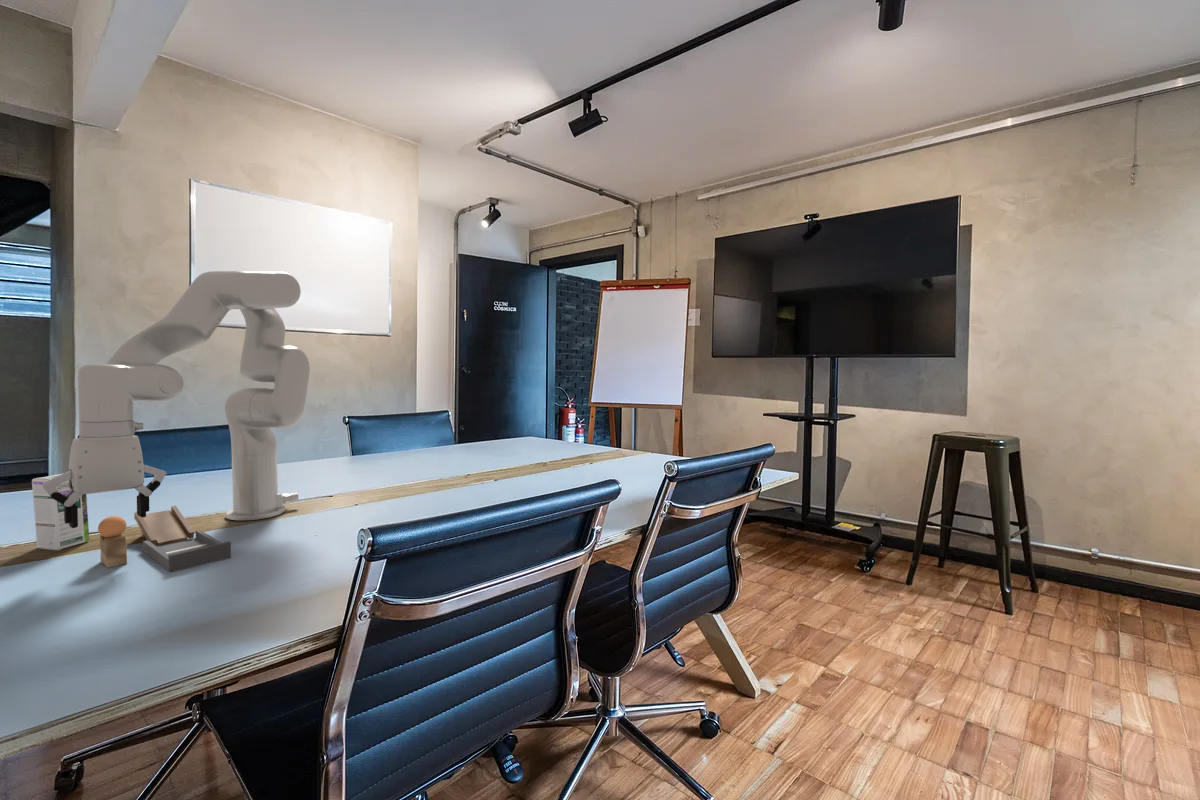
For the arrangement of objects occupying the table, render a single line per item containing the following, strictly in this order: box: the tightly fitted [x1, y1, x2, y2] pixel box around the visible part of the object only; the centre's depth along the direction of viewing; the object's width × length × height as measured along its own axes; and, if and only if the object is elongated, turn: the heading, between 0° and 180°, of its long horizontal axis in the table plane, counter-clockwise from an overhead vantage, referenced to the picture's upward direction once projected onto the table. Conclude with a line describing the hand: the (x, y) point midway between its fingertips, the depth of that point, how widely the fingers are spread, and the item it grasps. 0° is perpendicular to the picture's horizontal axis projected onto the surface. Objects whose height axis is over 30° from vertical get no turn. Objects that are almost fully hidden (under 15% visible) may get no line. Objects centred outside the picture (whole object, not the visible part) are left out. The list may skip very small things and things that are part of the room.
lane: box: [142, 529, 232, 573], centre depth 107 cm, size 10×17×3 cm, turn 53°
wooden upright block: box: [99, 534, 128, 569], centre depth 102 cm, size 3×5×5 cm, turn 53°
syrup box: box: [31, 473, 90, 551], centre depth 111 cm, size 6×6×14 cm
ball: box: [97, 515, 127, 538], centre depth 102 cm, size 4×4×4 cm
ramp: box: [133, 505, 195, 546], centre depth 116 cm, size 7×12×6 cm, turn 53°
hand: (108, 521), depth 101 cm, fingers open, 9 cm apart
